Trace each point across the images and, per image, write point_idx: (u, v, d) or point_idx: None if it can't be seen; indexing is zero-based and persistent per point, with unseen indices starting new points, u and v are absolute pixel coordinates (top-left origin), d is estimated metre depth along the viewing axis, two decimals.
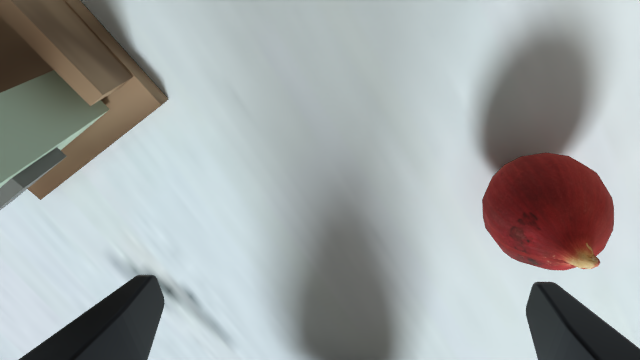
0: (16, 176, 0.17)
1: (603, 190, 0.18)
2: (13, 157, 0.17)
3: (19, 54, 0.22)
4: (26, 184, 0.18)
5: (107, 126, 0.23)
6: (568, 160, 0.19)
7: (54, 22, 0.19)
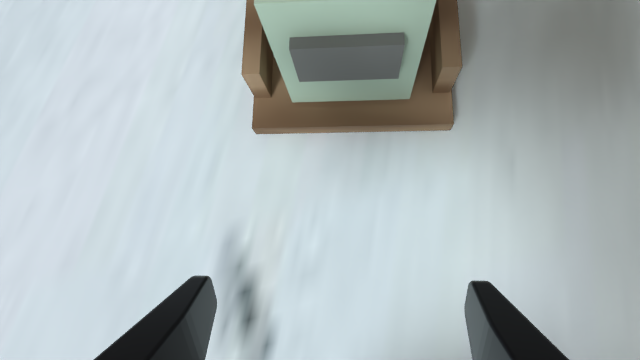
0: (403, 36, 0.17)
1: None
2: None
3: None
4: (403, 47, 0.17)
5: (388, 111, 0.24)
6: None
7: None
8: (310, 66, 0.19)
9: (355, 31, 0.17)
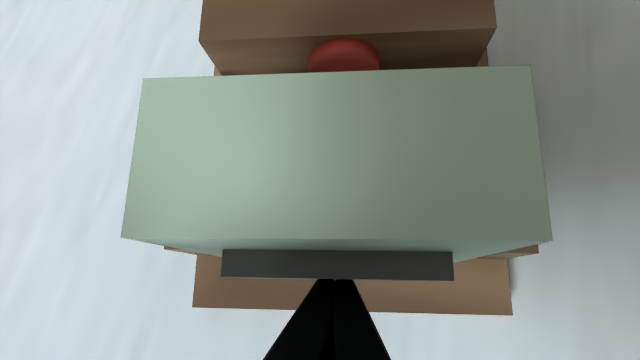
0: (450, 255, 0.09)
1: None
2: None
3: None
4: None
5: (406, 287, 0.15)
6: None
7: None
8: None
9: (353, 249, 0.08)
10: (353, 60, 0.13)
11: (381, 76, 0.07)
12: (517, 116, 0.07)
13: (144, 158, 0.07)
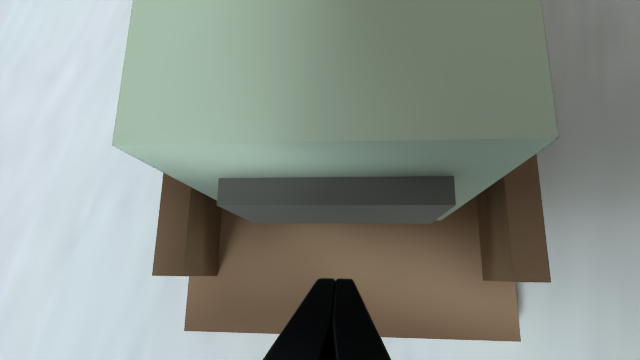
0: (452, 181, 0.08)
1: None
2: None
3: None
4: None
5: (409, 311, 0.14)
6: None
7: None
8: (266, 215, 0.10)
9: (352, 175, 0.08)
10: None
11: None
12: (522, 16, 0.06)
13: (136, 67, 0.07)
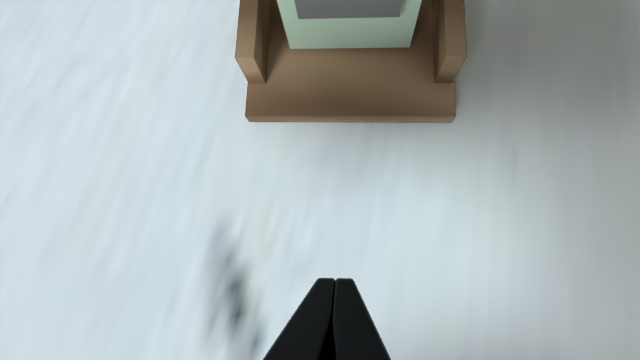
0: None
1: None
2: None
3: None
4: None
5: (388, 101, 0.23)
6: None
7: None
8: None
9: None
10: None
11: None
12: None
13: None
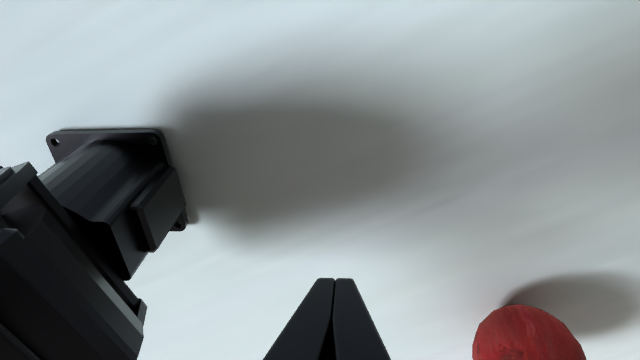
0: None
1: None
2: None
3: None
4: None
5: None
6: None
7: None
8: None
9: None
10: None
11: None
12: None
13: None
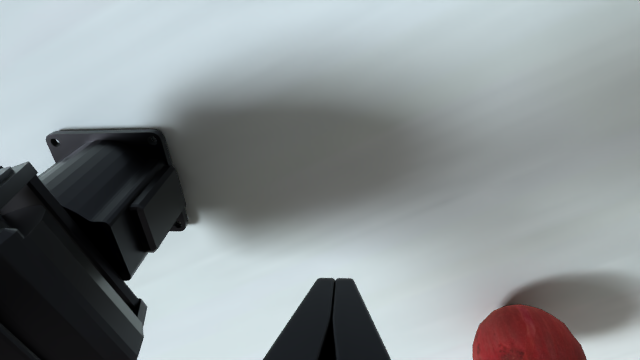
0: None
1: None
2: None
3: None
4: None
5: None
6: None
7: None
8: None
9: None
10: None
11: None
12: None
13: None
